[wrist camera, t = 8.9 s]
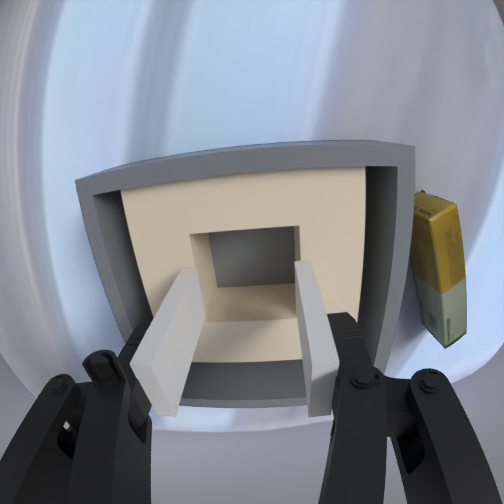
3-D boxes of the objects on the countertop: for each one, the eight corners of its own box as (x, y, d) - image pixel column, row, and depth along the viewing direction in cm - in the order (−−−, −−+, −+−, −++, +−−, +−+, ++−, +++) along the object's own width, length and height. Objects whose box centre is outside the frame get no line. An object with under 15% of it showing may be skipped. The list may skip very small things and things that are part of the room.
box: (120, 165, 18) (74, 180, 13) (375, 140, 16) (414, 146, 11) (171, 357, 24) (154, 403, 19) (361, 348, 23) (377, 395, 18)
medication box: (444, 310, 21) (468, 335, 18) (421, 325, 22) (443, 352, 18) (423, 188, 17) (458, 201, 13) (394, 203, 18) (427, 220, 14)
